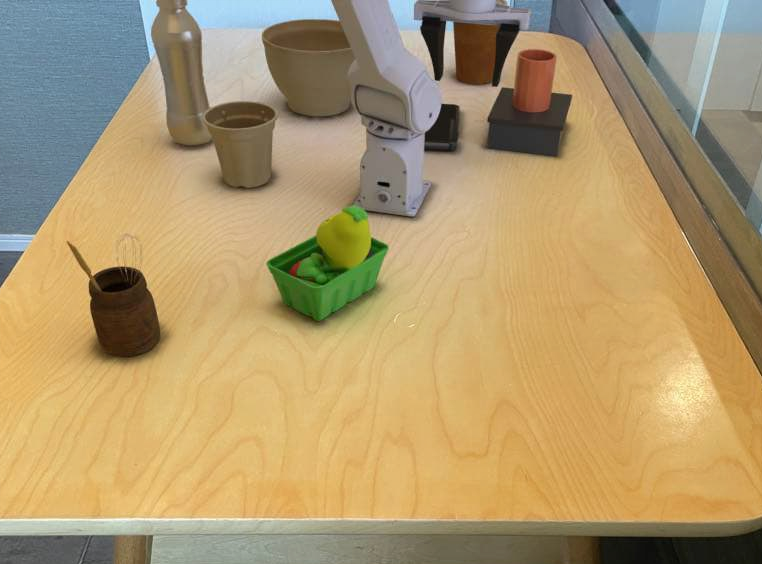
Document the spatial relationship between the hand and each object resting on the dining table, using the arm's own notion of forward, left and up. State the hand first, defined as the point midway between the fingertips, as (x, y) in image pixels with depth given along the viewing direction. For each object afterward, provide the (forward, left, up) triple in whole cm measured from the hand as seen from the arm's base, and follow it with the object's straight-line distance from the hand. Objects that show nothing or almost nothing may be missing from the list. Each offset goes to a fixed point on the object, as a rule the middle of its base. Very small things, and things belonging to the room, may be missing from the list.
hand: (467, 81), depth 108 cm
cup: (+10, -8, -6) cm, 14 cm away
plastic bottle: (-6, +38, -11) cm, 40 cm away
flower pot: (-15, +26, -11) cm, 32 cm away
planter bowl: (+12, +25, -11) cm, 30 cm away
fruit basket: (-39, +6, -11) cm, 41 cm away
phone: (+8, +6, -10) cm, 14 cm away
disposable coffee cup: (+32, +4, -11) cm, 34 cm away
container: (+10, -8, -10) cm, 16 cm away
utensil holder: (-52, +23, -11) cm, 58 cm away
